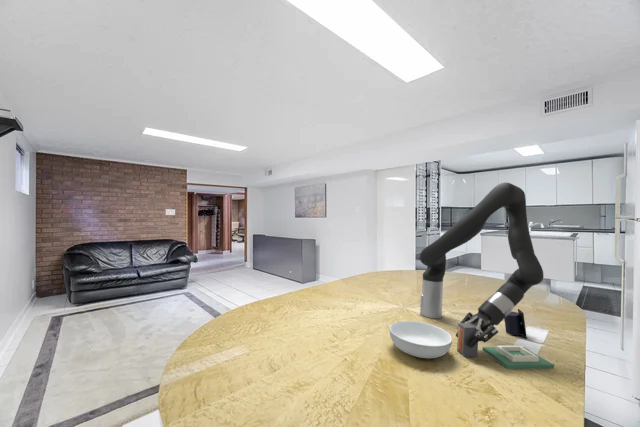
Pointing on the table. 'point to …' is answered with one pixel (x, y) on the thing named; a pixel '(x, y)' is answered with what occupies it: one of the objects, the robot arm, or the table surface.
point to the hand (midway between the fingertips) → (462, 341)
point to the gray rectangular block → (463, 336)
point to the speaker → (515, 323)
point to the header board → (517, 357)
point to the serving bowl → (420, 339)
